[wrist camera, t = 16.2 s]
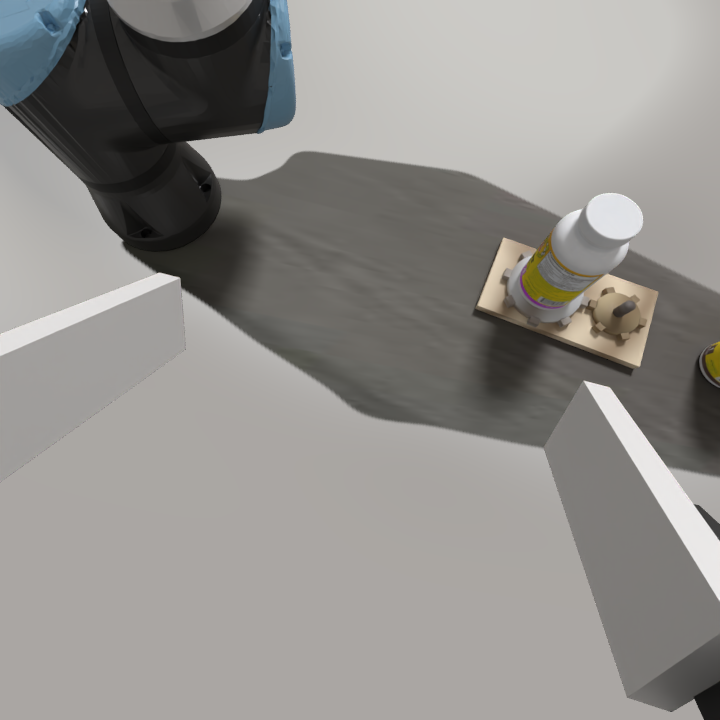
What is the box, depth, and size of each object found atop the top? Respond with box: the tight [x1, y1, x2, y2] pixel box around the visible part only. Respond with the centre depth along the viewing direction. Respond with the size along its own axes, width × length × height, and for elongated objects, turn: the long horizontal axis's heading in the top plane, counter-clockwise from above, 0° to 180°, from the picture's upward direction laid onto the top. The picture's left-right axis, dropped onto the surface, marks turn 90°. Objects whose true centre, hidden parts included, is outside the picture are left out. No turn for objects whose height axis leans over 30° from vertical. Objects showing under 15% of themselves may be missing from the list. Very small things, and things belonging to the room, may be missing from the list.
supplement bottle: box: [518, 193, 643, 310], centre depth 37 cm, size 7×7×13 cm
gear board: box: [475, 238, 658, 369], centre depth 42 cm, size 19×10×4 cm, turn 66°
